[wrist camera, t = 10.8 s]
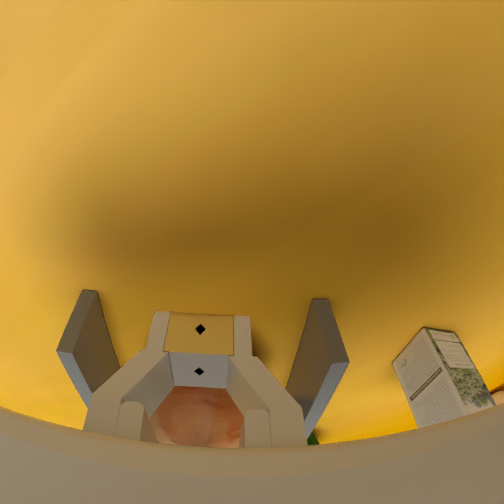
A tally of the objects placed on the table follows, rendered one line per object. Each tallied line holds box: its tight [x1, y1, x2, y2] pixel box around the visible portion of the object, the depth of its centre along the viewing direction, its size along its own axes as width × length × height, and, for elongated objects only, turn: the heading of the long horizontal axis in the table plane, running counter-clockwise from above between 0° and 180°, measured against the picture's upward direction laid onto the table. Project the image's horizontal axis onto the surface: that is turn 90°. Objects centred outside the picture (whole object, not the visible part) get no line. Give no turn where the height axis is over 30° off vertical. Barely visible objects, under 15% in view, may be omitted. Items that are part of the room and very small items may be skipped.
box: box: [56, 290, 349, 443], centre depth 25 cm, size 18×15×6 cm
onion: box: [149, 386, 244, 448], centre depth 22 cm, size 10×10×10 cm
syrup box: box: [392, 328, 496, 428], centre depth 23 cm, size 6×6×14 cm
